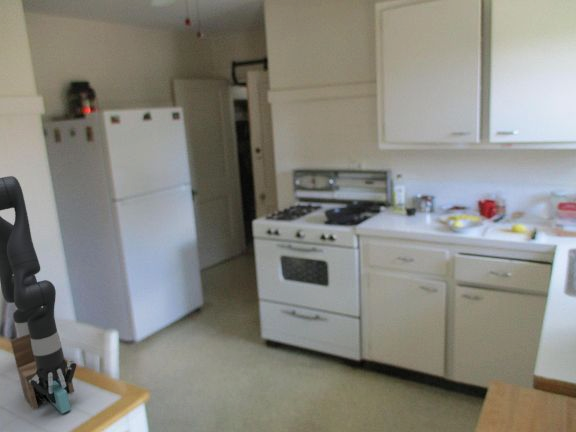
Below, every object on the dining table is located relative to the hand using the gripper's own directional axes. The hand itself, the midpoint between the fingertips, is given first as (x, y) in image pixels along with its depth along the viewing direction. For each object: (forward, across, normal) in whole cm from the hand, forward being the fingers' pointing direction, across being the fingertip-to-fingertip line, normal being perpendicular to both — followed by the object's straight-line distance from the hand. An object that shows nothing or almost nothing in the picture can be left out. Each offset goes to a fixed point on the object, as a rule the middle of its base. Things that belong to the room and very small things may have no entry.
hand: (59, 400), depth 146 cm
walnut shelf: (+2, 0, -10) cm, 10 cm away
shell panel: (+2, 0, -2) cm, 3 cm away
